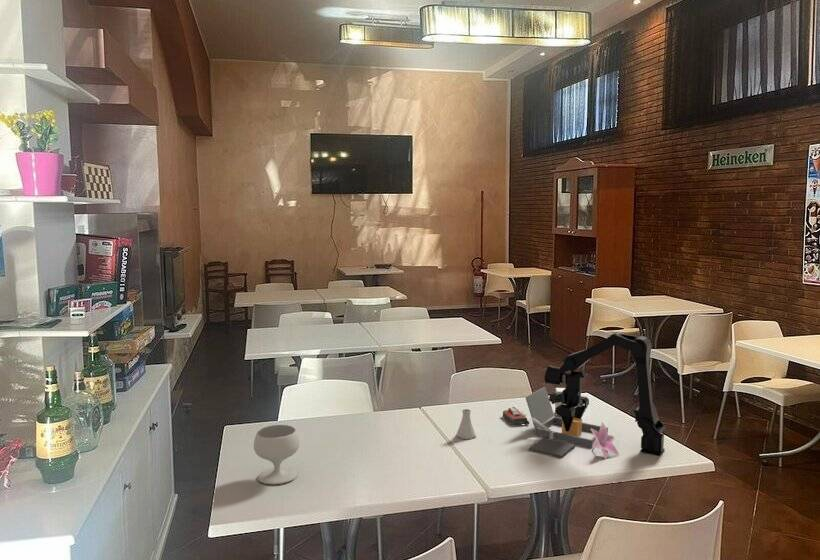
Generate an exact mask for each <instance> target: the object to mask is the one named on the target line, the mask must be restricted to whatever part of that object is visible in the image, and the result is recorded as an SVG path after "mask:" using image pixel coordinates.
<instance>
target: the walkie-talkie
mask: <svg viewBox="0 0 820 560" xmlns="http://www.w3.org/2000/svg"><path fill="white" fill-rule="evenodd" d="M503 417H504V418H505V419H506V420H505V419H504V418H503ZM502 418H503V419H504V420H505V421H507V422H508V423H509V424H510V423H511V424H510V425H511V426H513V425H517V426H522V425H521V424H527V425H529V424H530V421H529V420H528V418H527V414H526V413H525V412H524V411H523V410H519V409H518V408H516V407H515V406H512V407H509V408H507V410H506V409H505V410H503V411H502Z"/></svg>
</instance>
